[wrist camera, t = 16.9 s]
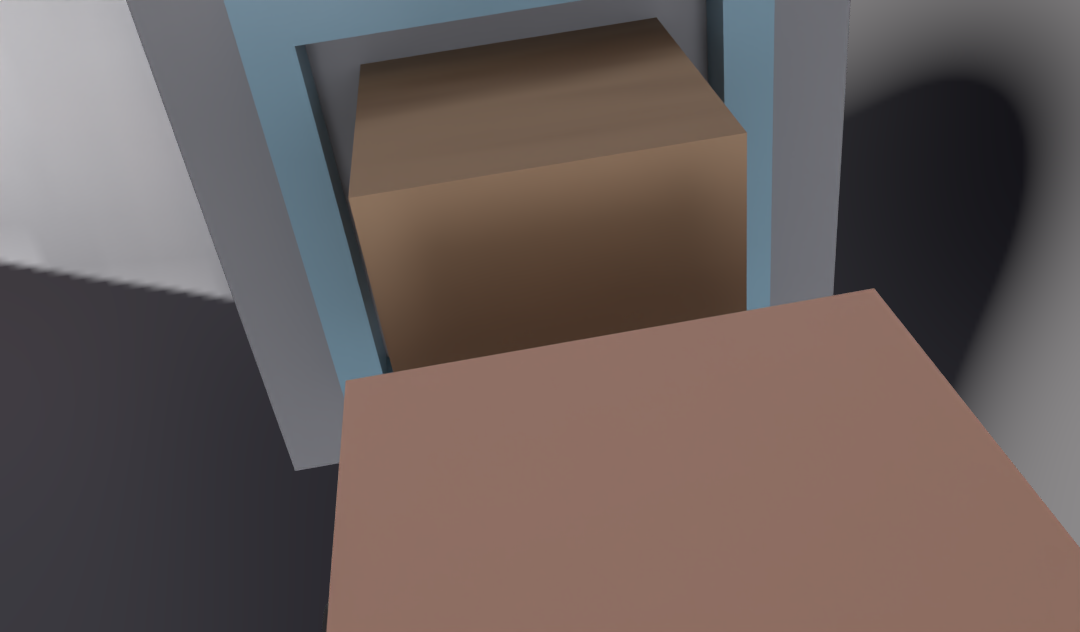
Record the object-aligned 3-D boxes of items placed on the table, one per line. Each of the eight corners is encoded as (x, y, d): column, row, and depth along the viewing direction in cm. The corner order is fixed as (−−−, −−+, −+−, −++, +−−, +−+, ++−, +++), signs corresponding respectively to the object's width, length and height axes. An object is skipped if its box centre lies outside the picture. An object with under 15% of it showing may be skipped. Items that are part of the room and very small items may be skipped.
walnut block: (360, 64, 19) (348, 198, 14) (656, 17, 19) (746, 132, 14) (417, 313, 22) (423, 491, 17) (669, 270, 23) (746, 434, 18)
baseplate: (98, -126, 18) (64, -104, 16) (842, -239, 18) (892, -230, 16) (298, 445, 25) (291, 503, 24) (814, 354, 26) (846, 405, 24)
